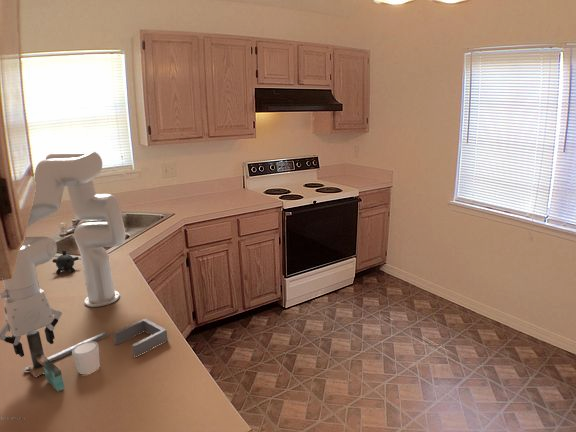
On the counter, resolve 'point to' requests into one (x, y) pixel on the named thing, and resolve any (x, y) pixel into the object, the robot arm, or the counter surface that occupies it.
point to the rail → (69, 350)
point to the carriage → (43, 362)
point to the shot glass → (86, 357)
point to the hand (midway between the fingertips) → (36, 348)
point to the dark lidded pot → (65, 262)
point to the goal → (134, 329)
